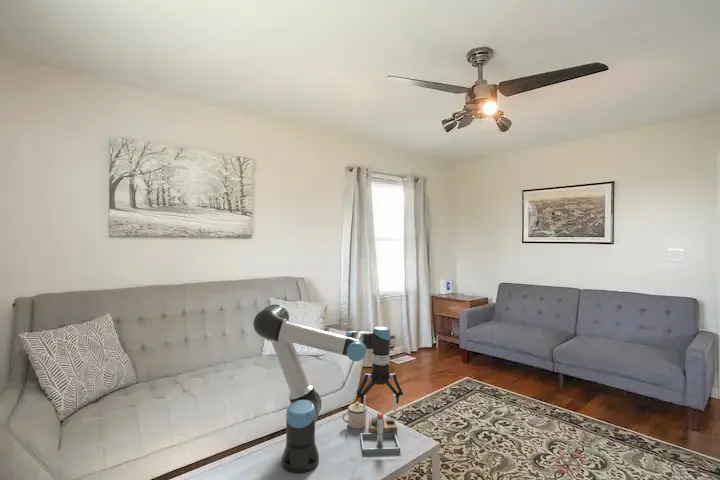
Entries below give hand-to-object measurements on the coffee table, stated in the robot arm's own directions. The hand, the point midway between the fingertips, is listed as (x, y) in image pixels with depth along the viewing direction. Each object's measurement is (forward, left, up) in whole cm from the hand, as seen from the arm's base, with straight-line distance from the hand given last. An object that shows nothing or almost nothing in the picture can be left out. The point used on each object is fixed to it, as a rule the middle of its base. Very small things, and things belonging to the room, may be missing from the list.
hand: (379, 410), depth 173 cm
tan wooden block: (+3, +11, -16) cm, 20 cm away
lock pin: (0, 0, -16) cm, 16 cm away
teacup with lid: (-10, +19, -17) cm, 27 cm away
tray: (0, 0, -16) cm, 16 cm away
